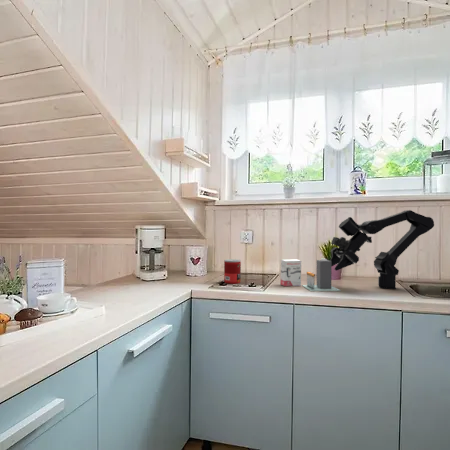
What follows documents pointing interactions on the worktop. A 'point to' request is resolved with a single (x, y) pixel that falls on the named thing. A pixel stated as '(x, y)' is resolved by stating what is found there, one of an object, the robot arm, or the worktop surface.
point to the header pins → (310, 280)
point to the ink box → (290, 272)
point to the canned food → (232, 271)
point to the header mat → (321, 289)
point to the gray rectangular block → (324, 273)
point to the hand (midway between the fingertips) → (331, 268)
